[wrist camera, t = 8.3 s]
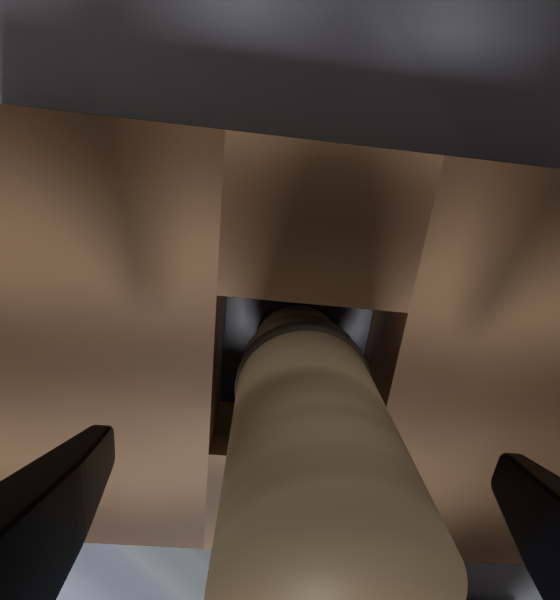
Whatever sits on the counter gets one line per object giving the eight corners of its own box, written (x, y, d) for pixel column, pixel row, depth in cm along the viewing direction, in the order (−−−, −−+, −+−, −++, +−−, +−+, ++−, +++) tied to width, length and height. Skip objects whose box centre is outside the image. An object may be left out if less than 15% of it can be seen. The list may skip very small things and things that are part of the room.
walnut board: (492, 500, 17) (537, 565, 14) (46, 472, 16) (-3, 538, 13) (611, 184, 12) (712, 186, 10) (1, 113, 11) (-90, 93, 8)
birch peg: (341, 394, 15) (435, 688, 6) (238, 387, 15) (195, 681, 6) (358, 298, 14) (509, 506, 5) (246, 288, 13) (203, 488, 5)
